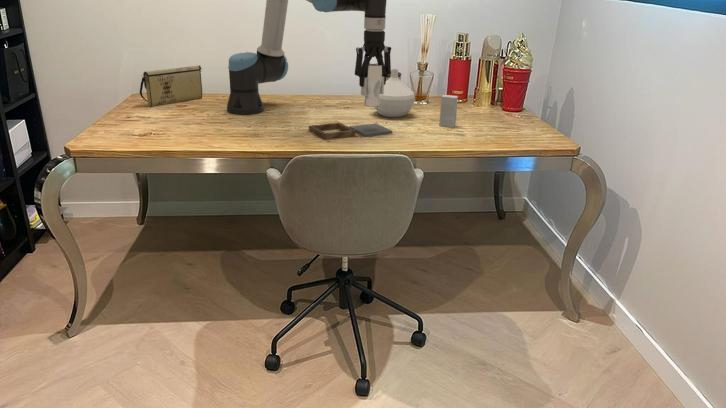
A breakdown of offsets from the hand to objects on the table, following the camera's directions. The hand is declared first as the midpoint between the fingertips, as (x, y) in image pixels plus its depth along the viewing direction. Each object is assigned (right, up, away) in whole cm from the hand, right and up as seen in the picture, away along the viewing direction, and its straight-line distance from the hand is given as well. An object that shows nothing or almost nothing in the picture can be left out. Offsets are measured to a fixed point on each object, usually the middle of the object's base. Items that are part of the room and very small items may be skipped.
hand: (372, 94), depth 203 cm
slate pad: (-1, -13, +6) cm, 14 cm away
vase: (+9, -3, +31) cm, 32 cm away
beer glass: (0, -4, +2) cm, 4 cm away
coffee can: (+8, +6, +51) cm, 52 cm away
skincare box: (+31, -9, +17) cm, 36 cm away
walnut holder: (-15, -14, +1) cm, 21 cm away
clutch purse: (-88, +4, +40) cm, 97 cm away
